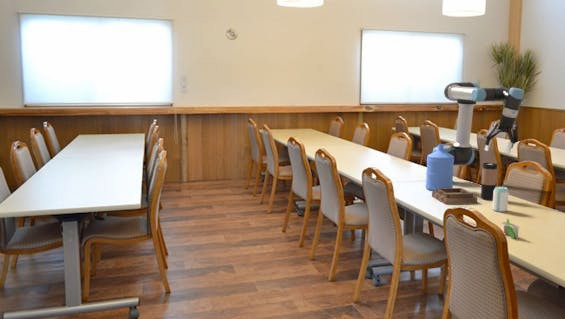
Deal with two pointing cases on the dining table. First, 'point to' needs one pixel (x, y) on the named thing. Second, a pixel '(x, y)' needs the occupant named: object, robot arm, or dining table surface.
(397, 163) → the dining table surface
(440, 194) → the brown wooden tray
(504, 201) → the can
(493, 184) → the travel mug
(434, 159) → the water jug
